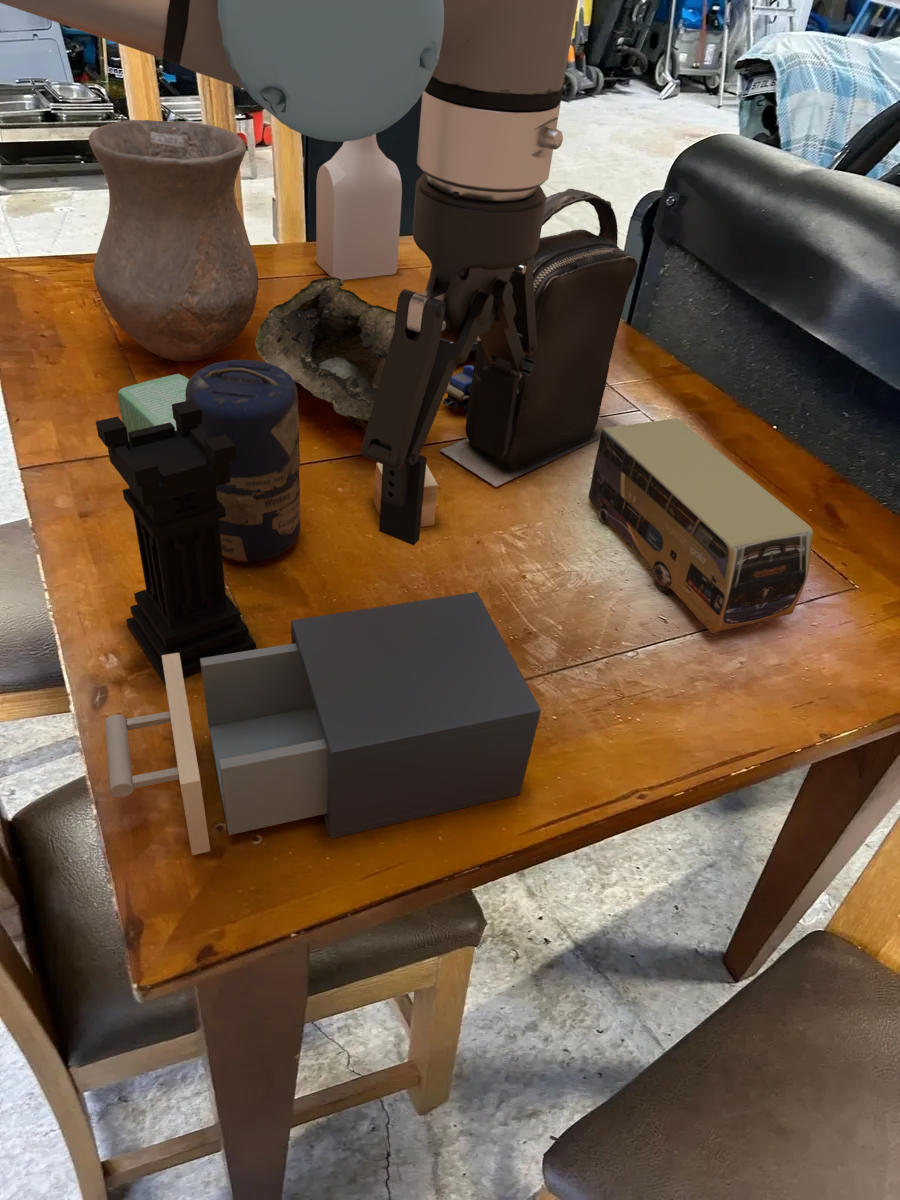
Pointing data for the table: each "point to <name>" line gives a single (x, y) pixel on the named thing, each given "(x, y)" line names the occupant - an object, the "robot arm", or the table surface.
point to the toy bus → (701, 523)
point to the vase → (174, 237)
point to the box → (151, 402)
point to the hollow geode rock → (330, 345)
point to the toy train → (460, 389)
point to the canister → (254, 454)
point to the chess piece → (178, 537)
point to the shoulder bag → (560, 347)
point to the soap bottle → (358, 212)
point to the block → (428, 495)
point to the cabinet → (415, 710)
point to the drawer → (237, 742)
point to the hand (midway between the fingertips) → (447, 489)
